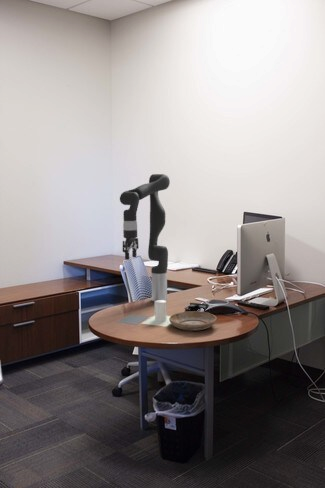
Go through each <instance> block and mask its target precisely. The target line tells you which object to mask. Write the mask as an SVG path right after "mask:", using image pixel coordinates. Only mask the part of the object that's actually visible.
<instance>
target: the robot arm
mask: <svg viewBox="0 0 325 488" xmlns="http://www.w3.org/2000/svg"><path fill="white" fill-rule="evenodd" d="M148 179H149V180H148V183H144V184H141V185H139V186H137V187H135V188H133V189H128V190H125V191H124V192H122V193H120V195H119V202H120V203H121V205H124V206H129V208H128V209H124V210H123V213H122V214H123V216H122V217H123V227H122V228H123V231H122V232H123V238H124V239H125V240H123V241H122V252H123V253H124V259H125V261H128V260H130V251H131V250H132V251H131V252H132V255H131V256H132V258H137V250H138V249H139V238H138V221H137V214H138V213H137V212H138V208H139V204H140V201H142V200H143V199H145V198H147V197H148V196H149V239H148V249H147V254H148V255H147V256H148V259H149V260H150V261H151V262H152V261H154V262H158V263H157V265H156V266H153V267H151V268H150V269H151V275H150V276H151V301H152V302H154V303H155V301H156V300H165V301H166V302H168V273H167V272H168V271H167V270H168V265H169V263H168V260H169V250H168V248H167V246H164V245H158V240H159V239H158V238H159V236H160V235H161V232H162V230H163V229H164V227H165V225H166V210H165V208H164V206H163V204H162V203H161V201H160V197H159V192H160V191H164V190H168V188H169V187H170V183H171V182H170V181H171V180H170V177H169V176H168V175H167V174H164V173H161V174H160V173H159V174H158V173H156V174H155V173H153V174H150V176H149V178H148Z"/></svg>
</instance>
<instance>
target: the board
mask: <svg viewBox="0 0 325 488" xmlns="http://www.w3.org/2000/svg"><path fill="white" fill-rule="evenodd" d="M171 316H172V315H167V320H166V321H164V322H157V321H155V314H154V315H153V316H150V317H149V318H147V319H146V320H144V321H142V322H141V323H140V324H142V325H149V326H156V327H164V328H165V327H168V326H169V325H172V324H171V323H170V321H169V318H170V317H171Z"/></svg>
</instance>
